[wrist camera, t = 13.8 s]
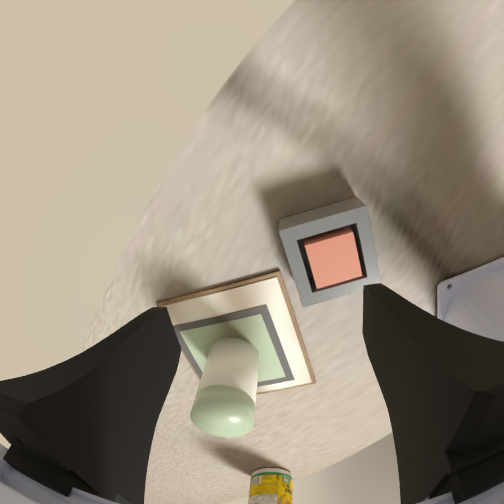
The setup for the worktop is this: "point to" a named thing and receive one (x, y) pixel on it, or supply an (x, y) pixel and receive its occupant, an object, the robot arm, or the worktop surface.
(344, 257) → the button
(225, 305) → the picture board
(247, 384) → the green and cream cylinder
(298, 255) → the button housing
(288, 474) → the supplement bottle
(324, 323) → the worktop surface
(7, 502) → the robot arm
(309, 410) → the worktop surface
